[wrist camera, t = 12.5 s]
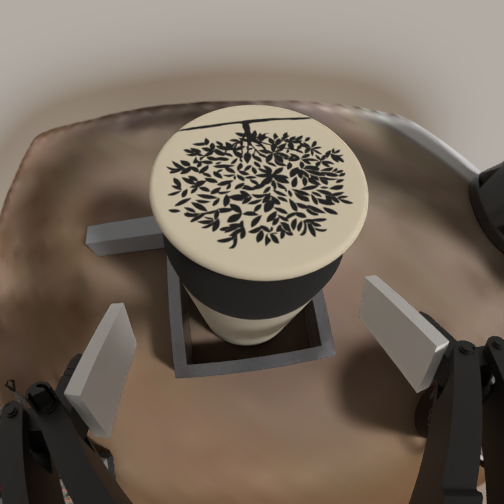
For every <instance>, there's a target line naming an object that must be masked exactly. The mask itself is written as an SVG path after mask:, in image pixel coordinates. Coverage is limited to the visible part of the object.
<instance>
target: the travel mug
mask: <svg viewBox="0 0 504 504" xmlns="http://www.w3.org/2000/svg"><path fill="white" fill-rule="evenodd" d="M149 199H150V204H151V209H152V212H153V215H154V217H155V219H156V222H157V224H158V226H159V227H160V229H161V230H162V232H163V241H164V247H165V250H166V253H167V256H168V259H169V261H170V263H171V265H172V267H173V268H174V270H175V272H176V274H177V275H178V277H179V279H180V280H181V282H182V284H183V285H184V287H185V289H186V290H187V292H188V294H189V295H190V297H191V298H192V300H193V302H194V303H195V305H196V307H197V308H198V310H199V311H200V313H201V314H202V316H203V318H204V319H205V321H206V322H207V324H208V325H209V327H210V328H211V330H212V331H213V332H214V333H215V334H216V335H217V336H219V337H220V338H221V339H223V340H225V341H227V342H229V343H231V344H235V345H239V346H253V345H258V344H261V343H264V342H266V341H268V340H270V339H271V338H273V337H274V336H275V335H276V334H277V333H278V332H280V331H281V330H282V329H283V328H284V327H285V326H286V325H287V324H288V323H289V322H290V321H291V320H292V319H293V318H294V317H295V316H296V315H297V314H298V313H299V312H300V311H301V310H302V309H303V308H304V307H305V306H306V305H307V304H308V303H309V302H310V301H311V300H312V299H313V297H314V296H315V295H316V294H317V293H318V292H319V291H320V290H321V289H322V288H323V287H324V286H325V285H326V284H327V283H328V281H329V280H330V279H331V278H332V276H333V275H334V273H335V272H336V270H337V268H338V266H339V264H340V261H341V259H342V256H343V253H344V252H345V251H346V250H347V249H348V248H349V247H350V246H351V244H352V243H353V242H354V240H355V239H356V238H357V236H358V234H359V232H360V231H361V229H362V226H363V224H364V221H365V218H366V214H367V209H368V188H367V182H366V178H365V175H364V172H363V170H362V167H361V165H360V163H359V161H358V160H357V158H356V156H355V155H354V153H353V152H352V150H351V149H350V148H349V147H348V145H347V144H346V143H345V142H344V141H343V140H342V139H341V138H340V137H339V136H338V135H337V134H335V133H334V132H333V131H332V130H330V129H329V128H327V127H326V126H324V125H323V124H321V123H320V122H318V121H316V120H314V119H312V118H310V117H308V116H306V115H303V114H301V113H298V112H295V111H292V110H288V109H284V108H280V107H274V106H266V105H241V106H233V107H227V108H223V109H219V110H215V111H212V112H209V113H207V114H204V115H202V116H200V117H198V118H196V119H194V120H192V121H191V122H189V123H187V124H186V125H184V126H183V127H182V128H180V129H179V130H178V131H177V132H176V133H175V134H173V135H172V136H171V138H170V139H169V140H168V141H167V142H166V143H165V145H164V146H163V147H162V149H161V150H160V152H159V154H158V155H157V157H156V159H155V162H154V164H153V167H152V170H151V174H150V180H149Z"/></svg>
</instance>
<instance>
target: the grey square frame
mask: <svg viewBox="0 0 504 504" xmlns="http://www.w3.org/2000/svg"><path fill="white" fill-rule="evenodd" d="M167 278H168V299H169V315H170V328H171V340H172V351H173V360H174V369H175V377H176V378H190V377H203V376H214V375H224V374H233V373H241V372H248V371H255V370H262V369H268V368H275V367H281V366H286V365H292V364H297V363H302V362H307V361H312V360H317V359H321V358H326V357H330V356H334V355H336V353H335V348H334V343H333V337H332V332H331V327H330V323H329V318H328V313H327V308H326V304H325V299H324V295H323V290H322V289H321V290H320V291H319V292H318V293H317V294H316V295H315V296H314V297H313V299H312V300H311V301H310V302H309V303H308V304H307V305H306V306H305V307H304V308H303V310H304V315H305V321H306V326H307V331H308V336H309V342H310V347H311V348H308V349H303V350H298V351H293V352H287V353H281V354H275V355H269V356H262V357H256V358H248V359H241V360H233V361H224V362H215V363H204V364H194V362H193V353H192V344H191V335H190V325H189V314H188V302H187V290H186V289H185V287H184V285H183V284H182V282H181V280H180V279H179V277H178V275H177V274H176V272H175V270H174V268H173V267H172V265H171V263H170V261H169V259H168V256H167Z"/></svg>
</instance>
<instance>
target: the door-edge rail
mask: <svg viewBox="0 0 504 504" xmlns="http://www.w3.org/2000/svg"><path fill="white" fill-rule="evenodd" d="M86 245H87V246H88V247H89V248H90V249H91V250H92V251H93V252H94V253H95V254H96V255H97V256H104V255H111V254H119V253H127V252H135V251H143V250H151V249H159V248H165V247H164V241H163V232H162V230H161V229H160V227H159V226H158V224H157V222H156V219H155V217H154V216H149V217H142V218H136V219H129V220H123V221H116V222H110V223H104V224H98V225H93V226H88V229H87V236H86Z"/></svg>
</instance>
